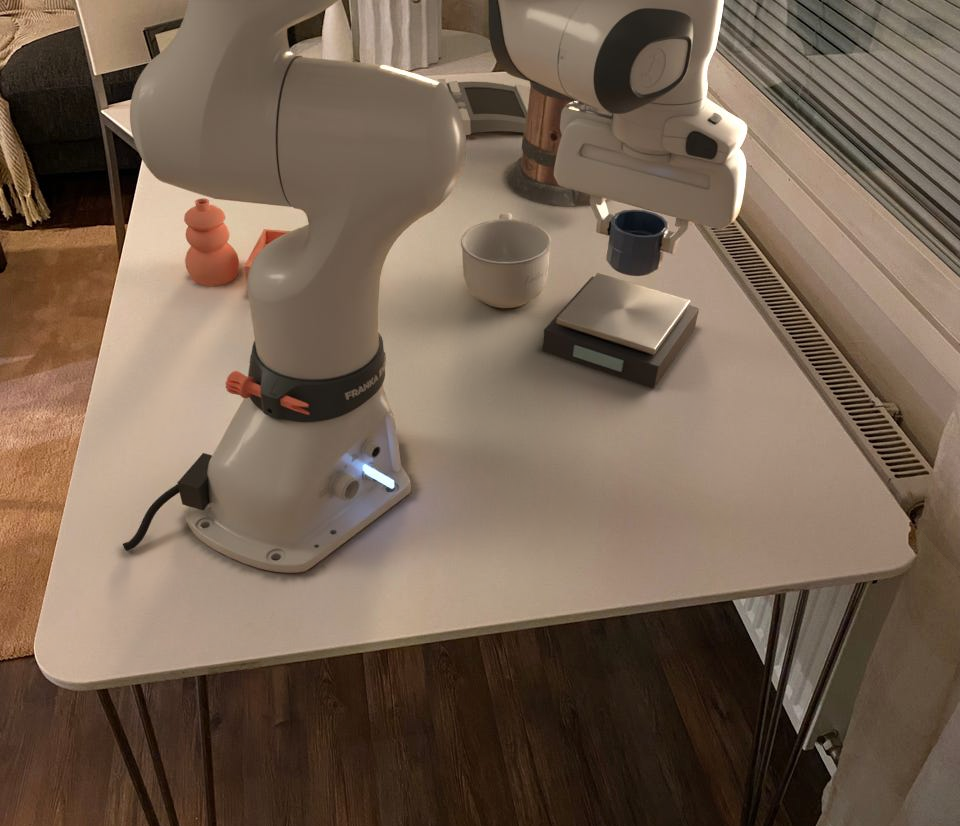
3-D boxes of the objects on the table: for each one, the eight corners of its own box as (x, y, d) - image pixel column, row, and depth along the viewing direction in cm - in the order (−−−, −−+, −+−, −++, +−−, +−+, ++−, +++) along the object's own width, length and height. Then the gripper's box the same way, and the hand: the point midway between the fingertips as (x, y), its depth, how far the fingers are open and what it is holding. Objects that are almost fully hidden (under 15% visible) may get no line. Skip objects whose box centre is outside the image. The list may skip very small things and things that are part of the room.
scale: (653, 389, 108) (657, 367, 106) (540, 352, 113) (542, 330, 111) (694, 329, 118) (699, 308, 116) (589, 297, 122) (592, 276, 120)
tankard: (498, 158, 152) (505, 22, 138) (602, 155, 154) (619, 22, 140) (524, 229, 135) (536, 83, 121) (641, 225, 137) (665, 81, 123)
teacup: (538, 324, 117) (543, 265, 112) (451, 311, 118) (452, 253, 113) (554, 268, 127) (560, 211, 122) (474, 257, 129) (476, 200, 123)
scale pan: (653, 355, 107) (655, 349, 107) (555, 324, 111) (556, 318, 110) (689, 305, 115) (690, 300, 114) (596, 278, 119) (597, 272, 118)
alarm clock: (437, 79, 166) (531, 70, 167) (439, 106, 169) (531, 97, 171) (449, 119, 154) (550, 109, 155) (451, 147, 157) (550, 137, 158)
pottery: (336, 264, 126) (331, 192, 119) (320, 302, 119) (314, 229, 112) (200, 253, 127) (187, 181, 120) (177, 290, 120) (162, 217, 113)
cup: (648, 283, 106) (656, 242, 102) (596, 268, 108) (602, 227, 104) (668, 259, 110) (676, 218, 106) (617, 244, 112) (624, 204, 108)
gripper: (550, 104, 98) (539, 228, 108) (744, 151, 92) (714, 279, 101) (575, 84, 103) (562, 206, 112) (763, 128, 96) (732, 253, 105)
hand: (636, 241), depth 107 cm, fingers closed on cup, 6 cm apart
